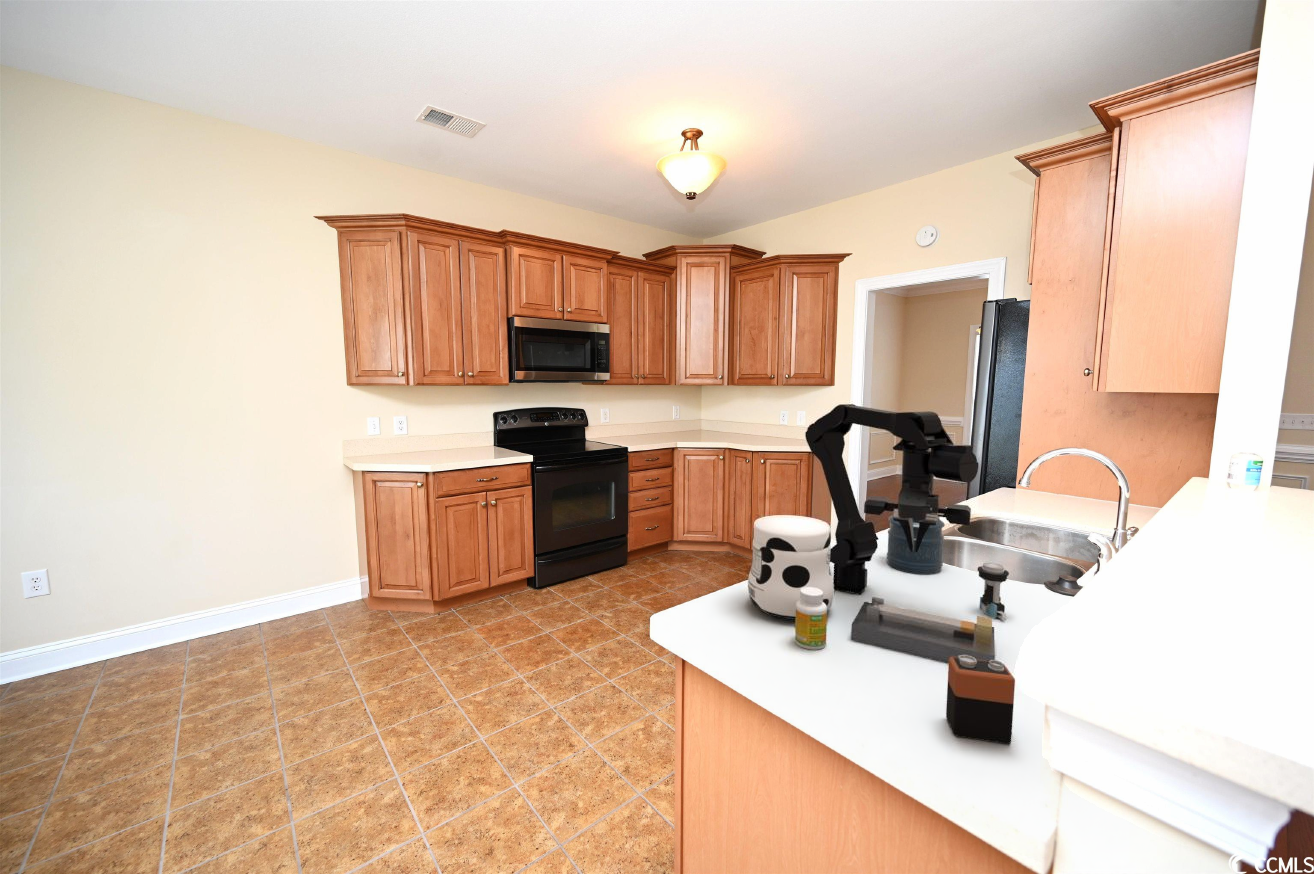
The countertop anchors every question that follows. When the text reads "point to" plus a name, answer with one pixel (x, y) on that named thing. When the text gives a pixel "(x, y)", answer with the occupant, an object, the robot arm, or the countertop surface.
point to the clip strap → (926, 618)
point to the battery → (980, 699)
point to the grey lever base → (922, 636)
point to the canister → (927, 555)
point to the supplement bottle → (811, 619)
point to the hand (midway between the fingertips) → (914, 551)
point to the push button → (992, 589)
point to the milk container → (789, 562)
